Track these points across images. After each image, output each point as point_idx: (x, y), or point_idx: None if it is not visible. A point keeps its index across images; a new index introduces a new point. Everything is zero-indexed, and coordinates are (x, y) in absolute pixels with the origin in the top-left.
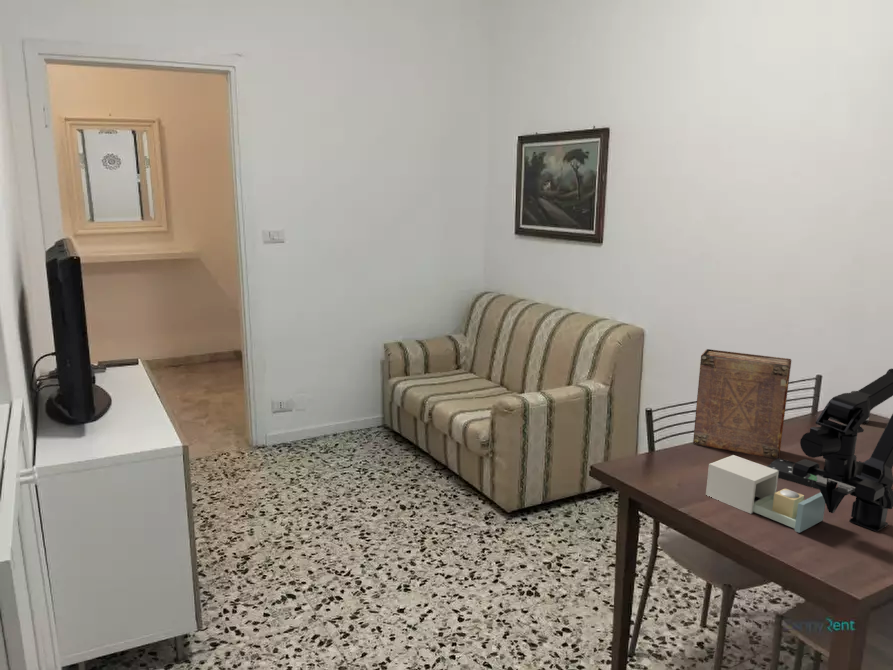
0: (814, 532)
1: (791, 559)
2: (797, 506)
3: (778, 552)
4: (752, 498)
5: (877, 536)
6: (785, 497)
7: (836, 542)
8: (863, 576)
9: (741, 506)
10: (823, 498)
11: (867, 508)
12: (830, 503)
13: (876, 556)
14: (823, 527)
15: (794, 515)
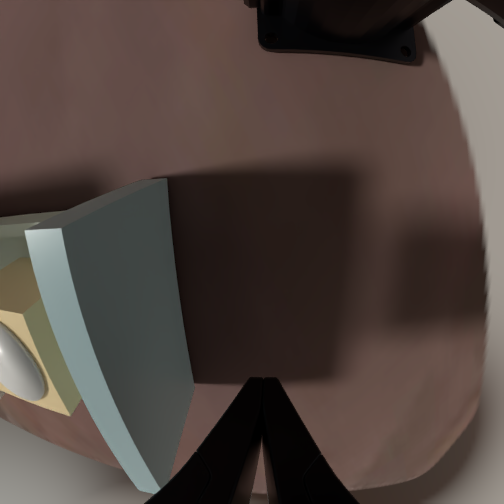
0: (218, 329)
1: None
2: None
3: None
4: (4, 392)
5: (430, 108)
6: (35, 402)
7: (326, 338)
8: (435, 430)
9: None
10: (94, 271)
11: (386, 2)
12: (255, 469)
13: (465, 312)
14: (211, 245)
15: None
